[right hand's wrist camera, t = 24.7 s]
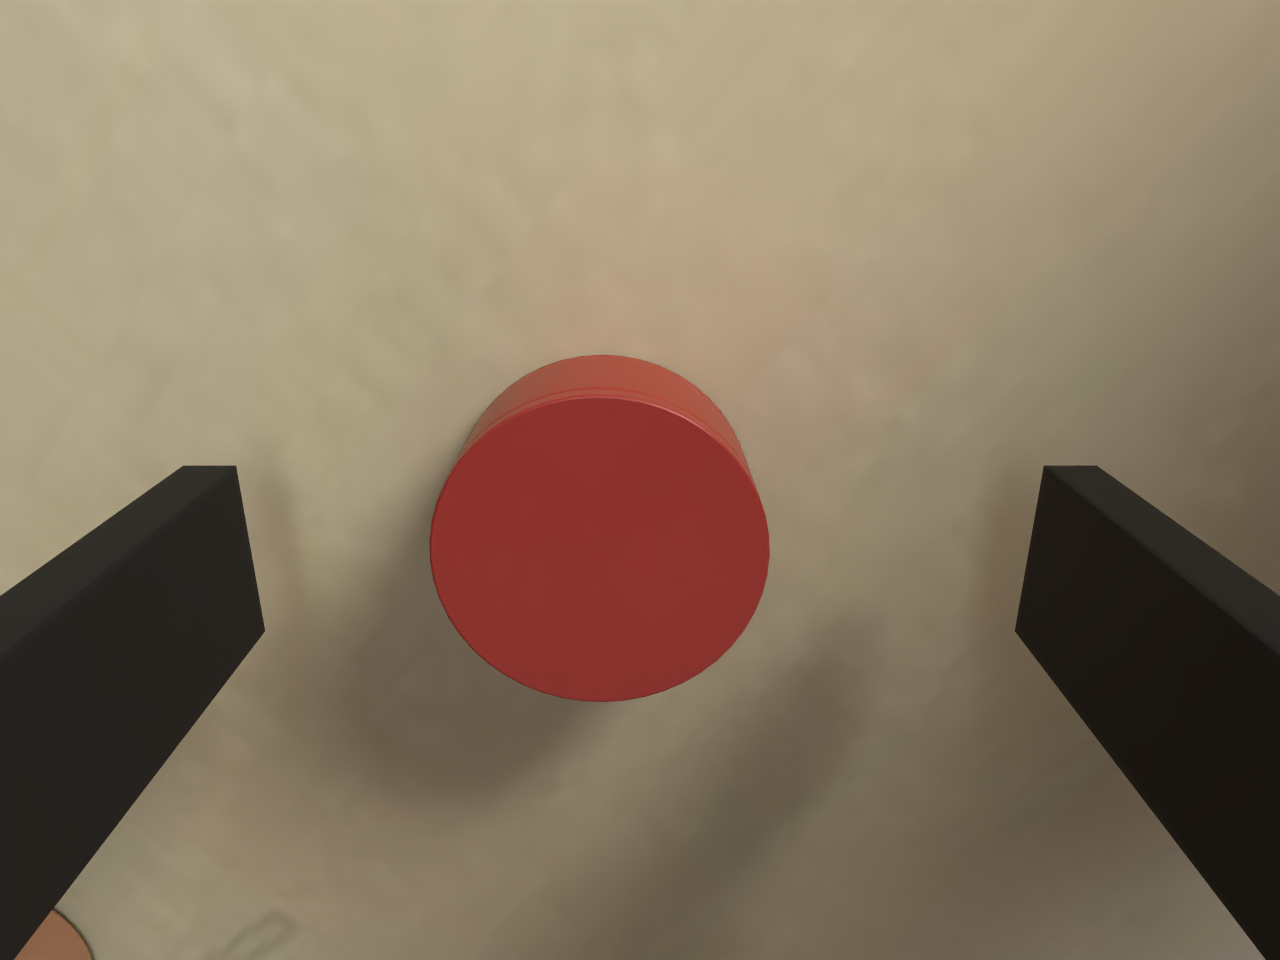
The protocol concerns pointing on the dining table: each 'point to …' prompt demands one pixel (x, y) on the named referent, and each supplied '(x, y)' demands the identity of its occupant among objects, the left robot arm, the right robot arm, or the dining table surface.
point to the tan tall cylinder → (55, 942)
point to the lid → (600, 532)
